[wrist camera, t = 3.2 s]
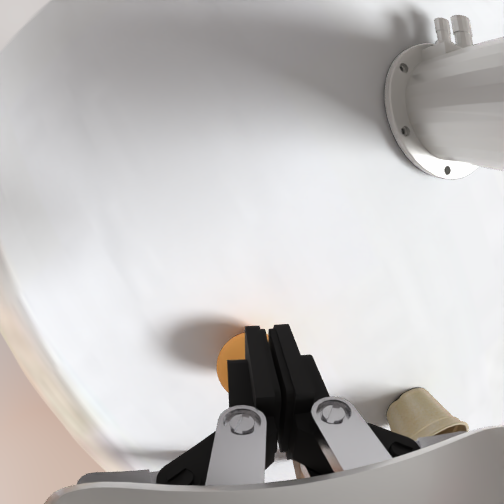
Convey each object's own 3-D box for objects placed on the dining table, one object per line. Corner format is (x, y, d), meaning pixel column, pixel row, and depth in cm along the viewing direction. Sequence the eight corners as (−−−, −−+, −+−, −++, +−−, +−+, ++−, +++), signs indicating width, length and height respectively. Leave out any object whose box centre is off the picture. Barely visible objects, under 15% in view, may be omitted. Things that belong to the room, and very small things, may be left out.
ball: (215, 319, 26) (213, 362, 21) (284, 317, 27) (298, 358, 21) (218, 372, 28) (218, 417, 23) (281, 369, 29) (292, 413, 23)
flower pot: (380, 438, 35) (402, 483, 26) (366, 404, 32) (393, 457, 24) (438, 404, 34) (467, 444, 26) (433, 364, 31) (470, 409, 23)
